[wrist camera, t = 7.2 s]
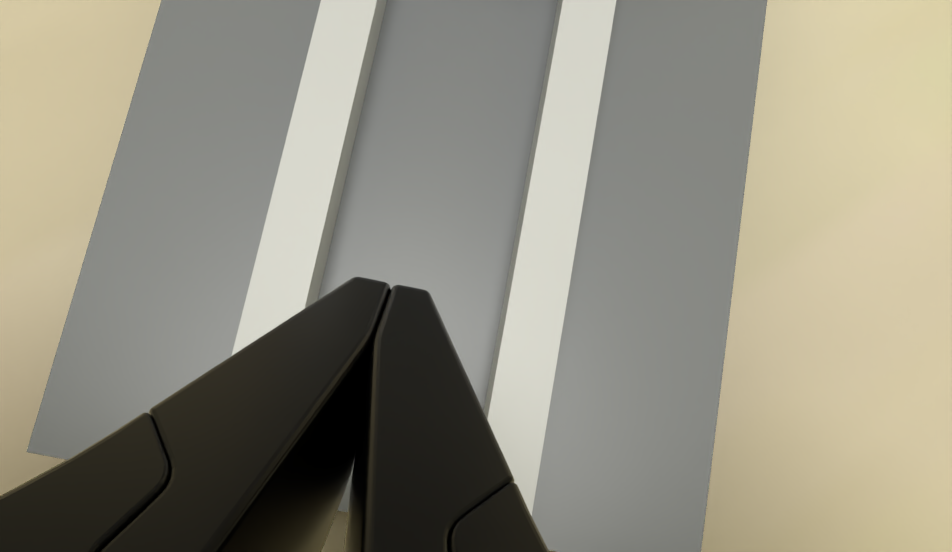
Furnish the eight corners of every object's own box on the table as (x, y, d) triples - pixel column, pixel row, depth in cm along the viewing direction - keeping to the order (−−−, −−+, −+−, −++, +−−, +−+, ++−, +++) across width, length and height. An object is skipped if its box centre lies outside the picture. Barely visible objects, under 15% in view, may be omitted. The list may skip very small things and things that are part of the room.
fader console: (664, 564, 17) (722, 587, 14) (72, 452, 17) (-8, 451, 13) (752, -116, 20) (813, -219, 17) (264, -221, 20) (237, -346, 17)
